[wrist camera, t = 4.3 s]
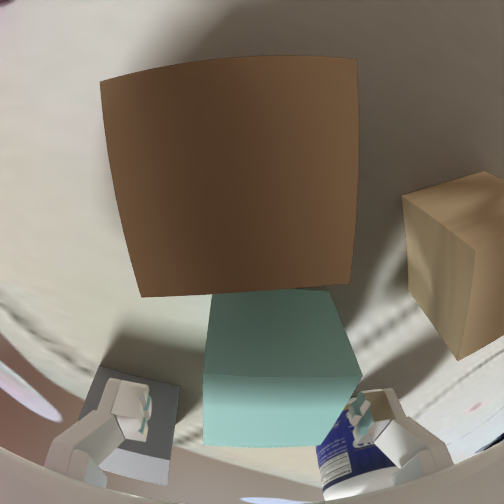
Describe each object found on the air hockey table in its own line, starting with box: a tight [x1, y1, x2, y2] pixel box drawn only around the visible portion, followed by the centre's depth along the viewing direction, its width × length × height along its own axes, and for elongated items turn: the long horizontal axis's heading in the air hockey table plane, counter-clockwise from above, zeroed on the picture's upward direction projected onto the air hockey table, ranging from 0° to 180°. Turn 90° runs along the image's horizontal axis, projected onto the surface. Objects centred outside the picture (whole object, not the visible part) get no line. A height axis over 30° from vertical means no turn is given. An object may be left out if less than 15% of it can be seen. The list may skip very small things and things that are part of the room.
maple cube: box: [401, 171, 504, 361], centre depth 10 cm, size 5×5×5 cm
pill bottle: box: [315, 397, 399, 501], centre depth 14 cm, size 5×5×9 cm
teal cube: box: [203, 289, 363, 448], centre depth 12 cm, size 5×5×5 cm
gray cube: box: [78, 366, 181, 486], centre depth 14 cm, size 5×5×5 cm
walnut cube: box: [100, 55, 359, 297], centre depth 8 cm, size 5×5×5 cm
